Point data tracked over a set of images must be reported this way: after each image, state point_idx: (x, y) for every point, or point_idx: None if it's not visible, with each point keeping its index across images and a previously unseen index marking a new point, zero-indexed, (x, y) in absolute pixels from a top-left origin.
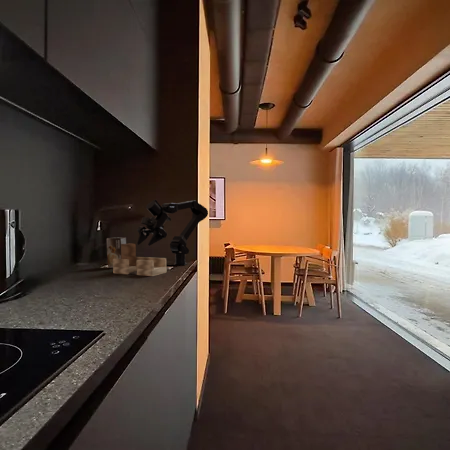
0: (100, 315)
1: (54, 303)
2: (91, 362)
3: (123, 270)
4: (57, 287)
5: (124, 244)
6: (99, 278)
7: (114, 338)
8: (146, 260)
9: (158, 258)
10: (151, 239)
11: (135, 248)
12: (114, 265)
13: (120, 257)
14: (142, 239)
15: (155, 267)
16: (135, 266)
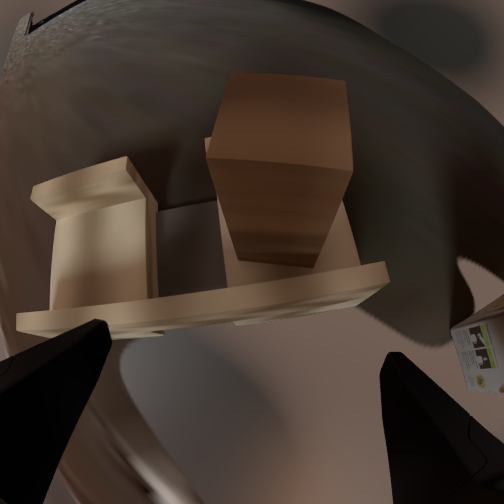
0: (44, 34)
1: (126, 4)
2: (19, 29)
3: None
4: (231, 11)
5: (277, 74)
6: None
7: (16, 39)
8: (67, 184)
9: (54, 310)
10: (31, 353)
11: (217, 191)
12: None
13: (495, 313)
14: (408, 479)
15: (78, 274)
16: (222, 242)
